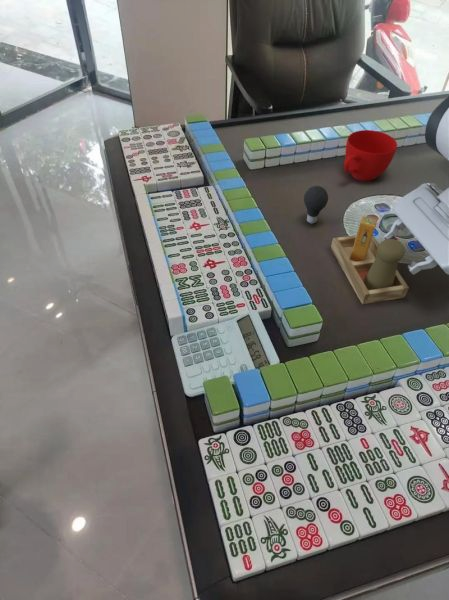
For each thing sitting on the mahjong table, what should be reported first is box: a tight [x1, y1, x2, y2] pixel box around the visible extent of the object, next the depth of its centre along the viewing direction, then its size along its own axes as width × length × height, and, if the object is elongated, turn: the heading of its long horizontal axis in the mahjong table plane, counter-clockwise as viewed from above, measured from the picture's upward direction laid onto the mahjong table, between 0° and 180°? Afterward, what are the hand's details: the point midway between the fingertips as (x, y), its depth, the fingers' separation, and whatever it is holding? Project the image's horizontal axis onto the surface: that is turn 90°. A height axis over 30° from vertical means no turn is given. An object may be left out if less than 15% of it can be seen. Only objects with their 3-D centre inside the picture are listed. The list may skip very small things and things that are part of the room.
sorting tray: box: [330, 234, 409, 305], centre depth 94 cm, size 10×18×3 cm, turn 11°
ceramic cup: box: [343, 129, 398, 182], centre depth 117 cm, size 13×17×10 cm
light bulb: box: [303, 185, 329, 225], centre depth 103 cm, size 6×6×10 cm
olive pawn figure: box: [364, 239, 406, 290], centre depth 88 cm, size 6×6×11 cm
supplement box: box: [350, 215, 378, 261], centre depth 94 cm, size 3×3×10 cm
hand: (397, 255), depth 87 cm, fingers open, 8 cm apart
